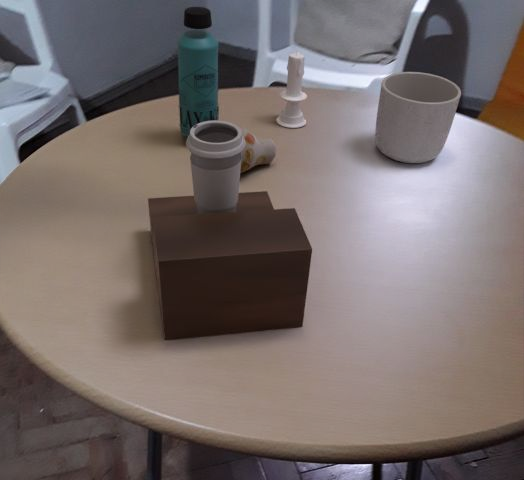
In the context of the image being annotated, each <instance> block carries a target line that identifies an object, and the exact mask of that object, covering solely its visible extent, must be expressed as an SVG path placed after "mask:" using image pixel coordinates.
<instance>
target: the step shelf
mask: <svg viewBox="0 0 524 480" xmlns="http://www.w3.org/2000/svg"><path fill="white" fill-rule="evenodd" d="M147 205H148V214H149V215H148V217H149V228H150V235H151V243H152V251H153V259H154V267H155V276H156V283H157V291H158V299H159V305H160V314H161V322H162V329H163V337H164V341H170V340H179V339H180V340H181V339H190V338H191V339H192V338H200V337H211V336H220V335H230V334H239V333H240V334H241V333H250V332H251V333H252V332H260V331H261V332H262V331H269V330H281V329H290V328H301V327H303V326H304V317H305V309H306V301H307V293H308V286H309V278H310V272H311V263H312V256H313V255H312V254H313V248H312V245H311V243H310V240H309V238H308V236H307V233H306V231H305V228H304V226H303V224H302V221H301V220H300V217H299V214H298V212H297V209H296V208H295V207H291V208H274V206H273V205H274V204H273V203H272V200H271V198H270V195H269V192H268V190H265V191H263V190H262V191H246V192H239V193H238V201H237V203H236V212H228V213H213V214H198V215H197V209H196V202H195V200H194V195H182V196H181V195H180V196H166V197H165V196H164V197H150V198H149V197H148V198H147Z"/></svg>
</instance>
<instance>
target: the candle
mask: <svg viewBox="0 0 524 480" xmlns="http://www.w3.org/2000/svg"><path fill="white" fill-rule="evenodd" d="M305 60H306V58H305V55H304V54H303V53H300V52H299V51H298V50H296V52H292V53H290V54H288V59H287V64H286V65H287V66H286V71H287V76H286V77H287V79H286V89H284V90H282V91H281V92H280V93H279V97H280V98H282V99H283V100H284V101H286V102H287V103H286V104H285V107H284V109H283V110H281V111H280V115H279V116H278V117H276V119H275V122H276V123H277V124H278V125H279V126H281V127H283V128H287V129H298V128H302V127H304V126H305V125H306V124H307V120H306V118H304V114H303V111H302V110H301V109H300V106H299V103H300V102H302V101H304V100H306V99H307V98H308V95H307V93H306V92H305V91H302V89H303V88H302V87H303V78H304V75H305Z"/></svg>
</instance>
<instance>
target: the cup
mask: <svg viewBox="0 0 524 480" xmlns="http://www.w3.org/2000/svg"><path fill="white" fill-rule="evenodd" d="M239 127H240V126H238V125H237V124H235V123H233V122H230V121H227V120H213V121H205V122H201V123H198V124H196V125H194V126H193V127H192V128H191V130H190V135H189V136H188V137H187V138H186V141H185V147H186V149H187V151H189V152H190V159H189V160H190V161H189V162H190V170H191V181H192V189H193V191H192V192H193V196H194V200H195V202H196V209H197V215H198V214H213V213H228V212H236V203H237V201H238V193H240V192H239V191H240V180H241V173H240V170H241V159H242V156H241V151H242V150H243V149H244V148H245V146H246V141H245V138H244V136H243V135H242V131H241V129H240V128H239Z"/></svg>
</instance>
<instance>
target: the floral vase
mask: <svg viewBox="0 0 524 480" xmlns="http://www.w3.org/2000/svg"><path fill="white" fill-rule="evenodd" d="M238 127H239V128H240V129H241V131H242V135H243V136H244V138H245V141H246V146H245V148H244V149H243V150H242V151H241V156H242V159H241V170H240V174H242V173H244V172H247V171H248V170H250V169H252V168H255V166H258V165H269V164H271V163H272V162H273V161H274V159H275V158H276V155H277V147H276V145H275V143H274V141H273V140H272V139H271V138H268V137H261V136H258V135H255V134H253V133H251V132H250V131H249V130H247V129H245V128H243V127H240V126H238Z"/></svg>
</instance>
